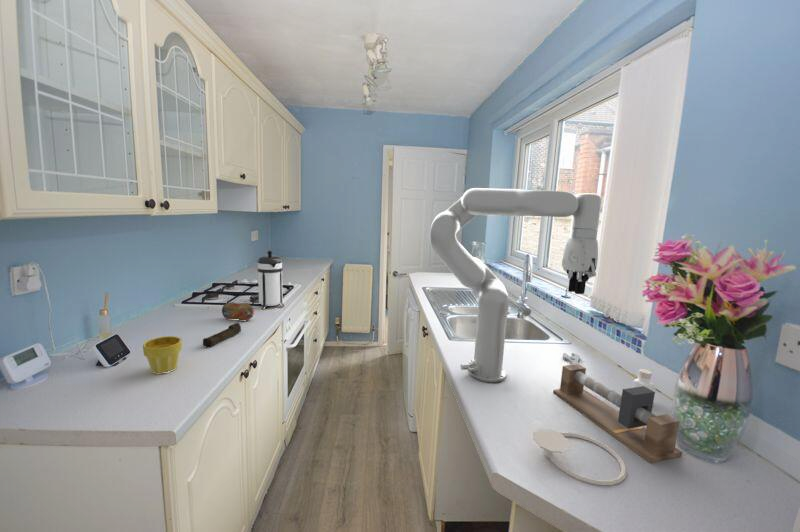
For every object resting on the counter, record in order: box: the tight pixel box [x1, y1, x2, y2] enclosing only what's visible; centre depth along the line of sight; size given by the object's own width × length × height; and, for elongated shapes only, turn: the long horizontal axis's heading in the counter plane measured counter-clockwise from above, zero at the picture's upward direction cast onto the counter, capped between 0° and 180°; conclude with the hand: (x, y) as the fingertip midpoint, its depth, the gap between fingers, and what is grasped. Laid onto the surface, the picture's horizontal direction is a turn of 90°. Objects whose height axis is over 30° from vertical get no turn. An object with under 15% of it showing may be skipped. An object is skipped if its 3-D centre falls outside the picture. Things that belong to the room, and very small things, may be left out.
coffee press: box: [256, 250, 285, 308], centre depth 191 cm, size 17×16×30 cm
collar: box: [618, 386, 656, 429], centre depth 91 cm, size 7×3×9 cm, turn 107°
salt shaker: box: [632, 368, 654, 391], centre depth 109 cm, size 4×4×10 cm
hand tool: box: [202, 322, 242, 348], centre depth 144 cm, size 19×4×5 cm, turn 163°
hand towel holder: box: [532, 428, 628, 486], centre depth 83 cm, size 17×4×21 cm
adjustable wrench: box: [562, 352, 581, 365], centre depth 130 cm, size 25×6×2 cm, turn 161°
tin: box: [221, 302, 255, 322], centre depth 168 cm, size 15×3×8 cm, turn 81°
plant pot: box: [142, 335, 183, 373], centre depth 116 cm, size 10×10×10 cm
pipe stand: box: [552, 363, 683, 464], centre depth 98 cm, size 10×32×9 cm, turn 17°
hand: (576, 292), depth 113 cm, fingers closed
